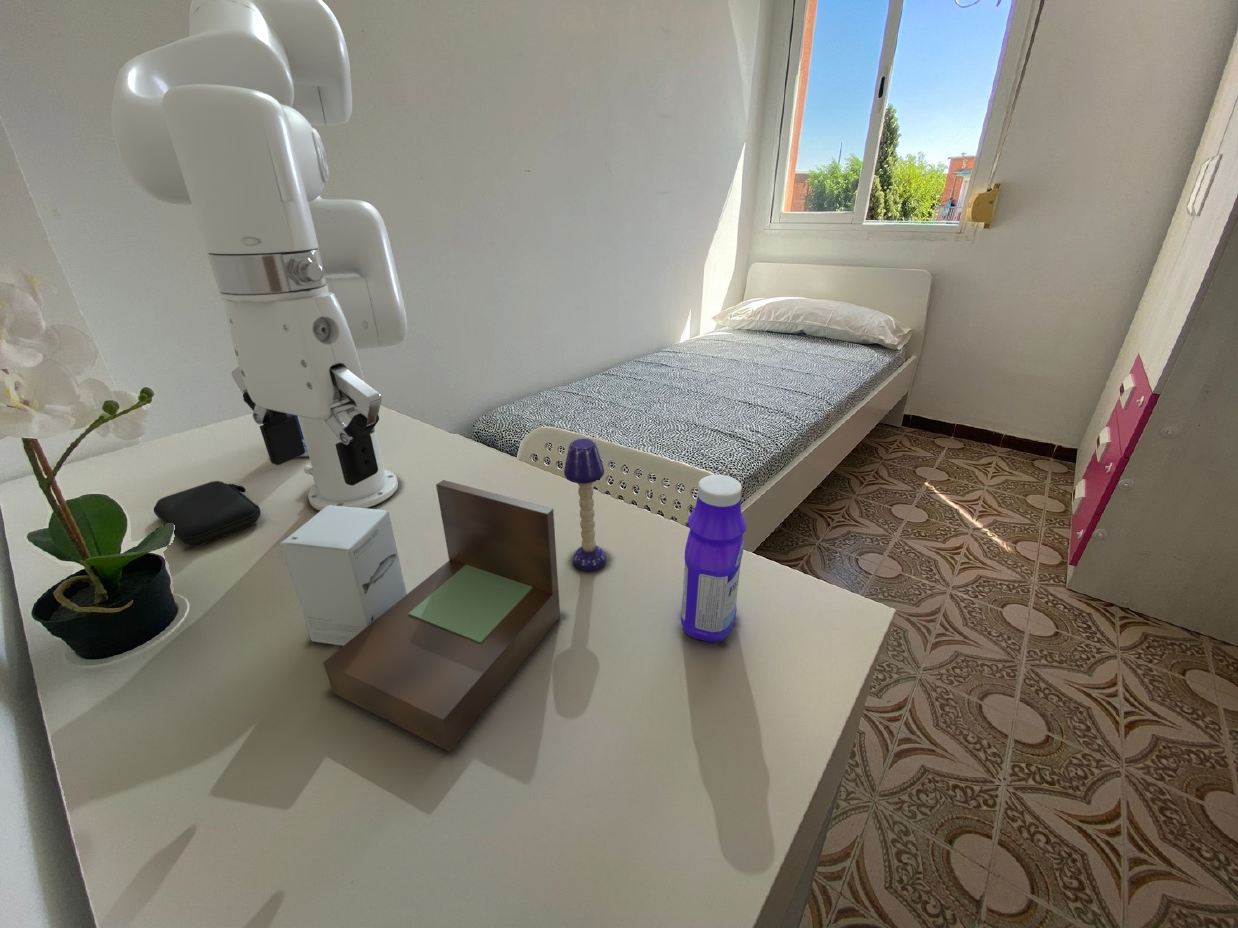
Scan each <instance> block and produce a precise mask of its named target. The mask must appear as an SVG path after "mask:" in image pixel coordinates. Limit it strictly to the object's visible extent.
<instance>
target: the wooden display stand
mask: <svg viewBox="0 0 1238 928" xmlns="http://www.w3.org/2000/svg"><path fill="white" fill-rule="evenodd" d="M435 486H436V487H435V488H436V492H437V498H438V503H439V510H440V516H441V521H442V527H443V533H444V539H445V544H446V545H445V546H446V550H447V556H448V561H446V562H445V563H443V564H442V566H440V567H439V568H438V569H437V570H435V571H434V572H432V574H430V575H429V576H428V577H426V578H425V579H424V580H422V582H420V583H419V584H418V585H417V586H416V587H414V588H413V589H412V590H410V591H409V592H407V595H406V596H404V597H403V598H402V599H401V600H400V601H398V602H397V603H396V604H395V605H393V606H392V607H391V608H390V609H388V610H387V611H386V612H385V613H383V614H382V615H381V616H380V617H379V618H377V619H376V620H375V621H374V622H372V623H371V624H370V625H369V626H367V627H366V628H365V629H364V630H362V631H361V632H360V633H359V634H358V635H356V636H355V637H354V638H353V639H351V640H350V641H349V642H348V643H346V644H345V645H344V646H341V647H340V648H339V649H338V650H336V651H335V652H334V653H333V654H331V655H330V656H329V657H328V658H326V659H325V660H324V661H323V662H322V664H323V668H324V670H325V673H326V675H327V679H328V682H329V685H330V687H331V691H332V693H333V694H334V695H336V696H338V697H340V698H341V699H343V700H346V701H347V702H350V703H352V704H354V705H355V706H357V707H359V708H362V709H364V710H366V711H367V712H369V713H371V714H373V715H375V716H377V717H379V718H381V719H383V720H385V721H387V722H389V723H391V724H393V725H394V726H396V727H399V728H402V729H403V730H406V731H407V732H410V733H411V734H413V735H414V736H417V737H418V738H421V739H423V740H425V741H427V742H429V743H431V744H433V745H435V746H437V747H438V748H441V749H443V750H445V751H447V752H449V753H451V752H452V750H453V749H454V748H455V746H456V745H457V744H458V743H459V742H460V741H461V739H462V738H463V737H464V735H466V733H467V732H468V731H469V730H470V728H471V727H472V726H473V725H474V723H476V721H477V720H478V719H479V717H480V716H481V715H482V713H483V712H484V711H485V710H486V709H487V708H488V706H489V705H490V704H491V702H492V701H493V700H494V699H495V698H496V696H498V694H499V693H500V692H501V690H502V689H503V687H505V685H506V684H507V683H508V682H509V680H510V679H511V678H512V676H514V674H515V673H516V672H517V671H518V670H519V668H520V667H521V666H522V665H523V663H524V662H525V661H526V660H527V658H528V657H529V656H530V654H532V652H533V651H534V649H536V647H537V646H538V645H539V643H540V642H541V641H542V640H543V638H545V636H546V635H547V634H548V632H549V631H550V630H551V629H552V628H553V626H554V625H555V624H556V622H557V621H559V619H560V617H561V606H560V593H559V591H560V590H559V579H558V577H559V575H558V563H557V547H556V545H557V544H556V532H555V516H554V515H555V513H554V508H551V507H548V506H544V505H542V504H541V505H540V504H537V503H533V502H529V501H525V500H522V499H518V498H515V497H510V496H506V495H502V494H498V493H494V492H491V491H488V490H484V489H479V488H475V487H471V486H468V485H464V484H460V483H456V482H453V481H449V480H445V479H442V480H441V481H439V482H438V483H436V484H435Z"/></svg>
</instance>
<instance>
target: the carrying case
mask: <svg viewBox="0 0 1238 928" xmlns="http://www.w3.org/2000/svg"><path fill="white" fill-rule="evenodd" d="M243 493H246V488H245V487H244V486H243V485H238V484H235V483H229V482H228V483H225V482H223V481H221V480H213V481H209V482H207V483H203V484H200V485H197V486H194V487H191V488H188V489H185V490H182V491H179V492H176V493H173V494H170V495H166V496H164V497H162V498H160V499H158V500H157V501H156V504H155V505H154V506H153V513H154V515H155V516H156V517H157V518H158V519H159V520H160V521H161V523H163V525H165V524H166V523H173V524H174V525H175V530H174V534H173V535H174V536H175V537H176V538H177V540H178V541H179V542H180V543H182V544H184V545H188V546H191V547H199V546H203V545H205V544H208V543H210V542H213V541H215V540H218V539H221V538H223V537H226V536H229V535H231V534H233V533H236V532H238V531H239V532H240V531H241V530H244V529H246V528H249V527H251V526H253V525H255V524H256V523H257V521H258V520H259V519H260V517H261V513H262V512H261V511H262V510H261V509H260V507H259V505H257V504H256V503H255V502H253V501H252V500H251V499H250V498H249V497H247V496H246V495H245V494H243Z"/></svg>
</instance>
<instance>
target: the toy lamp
mask: <svg viewBox="0 0 1238 928" xmlns="http://www.w3.org/2000/svg"><path fill="white" fill-rule="evenodd" d="M563 473H564V477H565V479H566V480H567V481H569V482H570V483H574V484H578V491H577V492H578V493H577V494H578V497H579V500H578V505H579V507H580V509H579V517H580V522H579V525H580V528H581V531H580V537H581V546H579V547H578V548H577V549H576V550H575V552H574V554H573V557H572V563H573V565H574V566H575V568H577V569H578V570H581V571H585V572H592V571H597V570H600V569H602V567H605V565H606V563H607V555H606V553H605V551H604V550H603V549H602V548H601V546H599V545H597V542H596V539H595V538H596V530H595V526H596V521H595V515H596V514H595V508H594V506H595V500H594V487H593V483H595V482H597V481H599V480H600V479H602V477H604V475H605V468H604V464H603V461H602V458H601V455H600V451H599V449H598V446H597V443H596V442H595V441H594V440H592V439H590V438H577V439H574V440H572V441H571V442H570V443H569V445H568V449H567V454H566V458H565V464H564V470H563Z"/></svg>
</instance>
